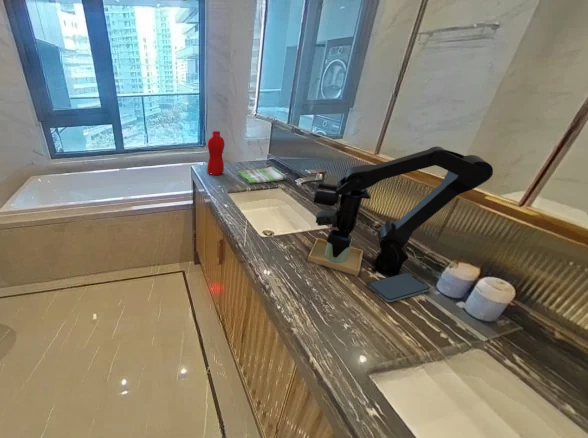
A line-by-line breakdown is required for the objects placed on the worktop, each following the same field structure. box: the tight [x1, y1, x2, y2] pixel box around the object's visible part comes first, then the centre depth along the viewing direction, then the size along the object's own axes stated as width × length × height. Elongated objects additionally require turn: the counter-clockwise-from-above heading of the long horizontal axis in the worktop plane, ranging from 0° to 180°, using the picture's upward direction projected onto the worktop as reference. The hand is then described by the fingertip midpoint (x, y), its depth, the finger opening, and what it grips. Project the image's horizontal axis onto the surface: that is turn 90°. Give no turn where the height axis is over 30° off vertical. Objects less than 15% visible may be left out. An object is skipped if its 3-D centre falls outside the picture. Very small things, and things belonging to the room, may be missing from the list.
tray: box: [307, 237, 364, 277], centre depth 96 cm, size 15×13×2 cm
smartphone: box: [367, 272, 430, 303], centre depth 82 cm, size 8×2×15 cm
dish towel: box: [237, 166, 287, 185], centre depth 164 cm, size 17×23×4 cm
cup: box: [325, 237, 353, 263], centre depth 94 cm, size 7×7×8 cm
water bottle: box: [206, 130, 225, 176], centre depth 167 cm, size 9×11×25 cm
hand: (337, 250), depth 95 cm, fingers open, 9 cm apart
